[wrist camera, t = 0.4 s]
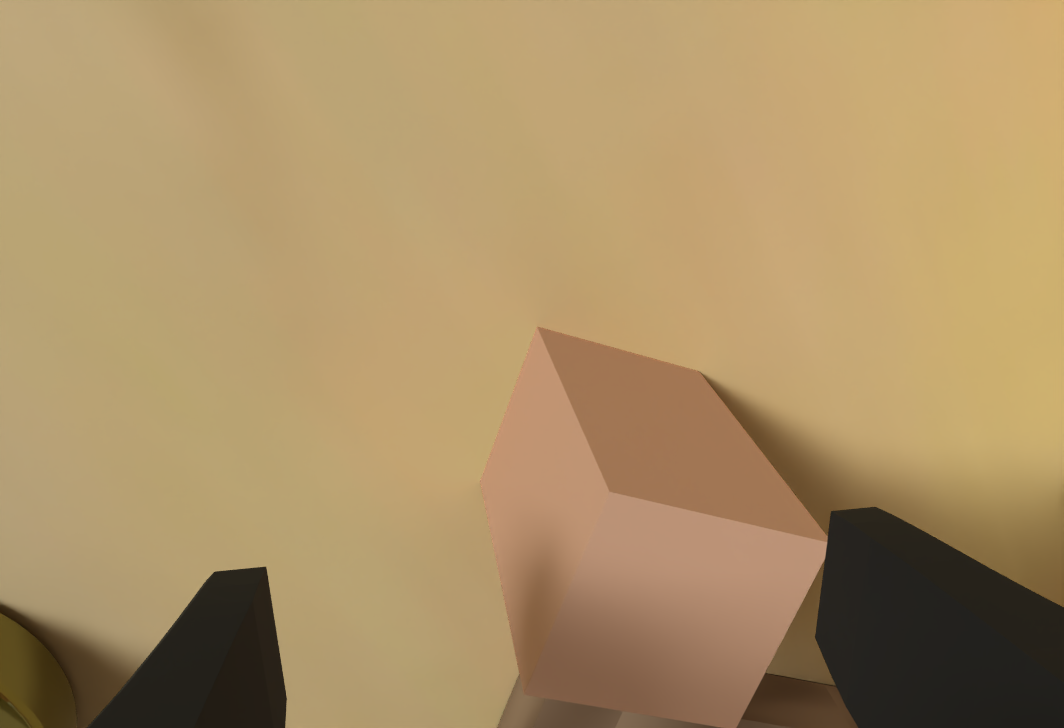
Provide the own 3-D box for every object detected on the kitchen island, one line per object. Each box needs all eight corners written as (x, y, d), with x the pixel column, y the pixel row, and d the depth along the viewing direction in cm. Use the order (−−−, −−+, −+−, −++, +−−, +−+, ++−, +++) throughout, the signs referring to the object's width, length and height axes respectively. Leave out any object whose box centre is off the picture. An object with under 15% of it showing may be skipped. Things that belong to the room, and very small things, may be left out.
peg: (699, 371, 22) (833, 543, 16) (635, 516, 23) (735, 729, 17) (537, 326, 21) (609, 491, 15) (480, 481, 22) (524, 694, 16)
